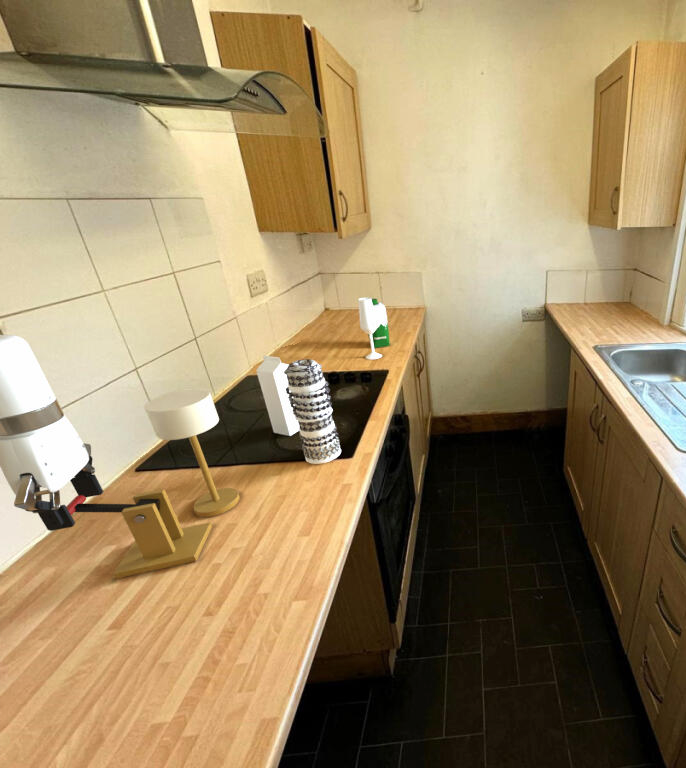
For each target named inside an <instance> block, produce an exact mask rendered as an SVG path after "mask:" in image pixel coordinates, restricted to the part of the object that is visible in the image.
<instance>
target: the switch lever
mask: <svg viewBox="0 0 686 768" xmlns="http://www.w3.org/2000/svg"><path fill="white" fill-rule="evenodd" d="M86 500H87V497H85V496H83V495H78V494H77V495H75V497H74V498H73V499H72V500H71V501H70V502H69V503H68V504H67V505H65V506H66V507H67V509H68V511H69V513H70V514H71V516H72V517H73V515H74V514H75V513H121V512H122V511H123V509H125V508H131V507H136V506H142V505H147V504H153V503H155V505H156V507H157V509H158V511H159V510H160V499H140V500H139V501H138V502H137V504H136V503H85V502H86Z"/></svg>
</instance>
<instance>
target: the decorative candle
mask: <svg viewBox="0 0 686 768" xmlns="http://www.w3.org/2000/svg"><path fill="white" fill-rule="evenodd" d="M322 368H323V365H322V364H321V363H318V362H317V361H316V360H314V359H311V358H306V359H305V358H304V359H303V358H302V359H297V360H295V361H292V362H290V363H289V365H288V367H287V369H285V371H284V374H286V375H287V380H288V387H287V388H286V393H287V394H289V396H288V399H289V401H290V404H291V405H290V406H291V407H292V408H293V410H292V411H293V414H294V415H295V419H296V420H297V421H298V423H299V435H298V436H299V439H300V443H301V445H302V448H301V449H302V451H303V456H304V458H305V461H306V462H307V463H309V464H311V465H321V464H326V463H329V462H331V461H333V460H336V459H337V458H338V457H339V456H340V455H341V453H342V449H341V445H340V439H339V437H338V435H339V433H338V430H337V429H338V428H337V426H336V425H335V421H334V419H333V415H332V413H333V411H334V410H333V408H332V405H333V403H332V401H331V399H332V397H331V395H330V394H329V393H330V391H331V390H330V388H329V386H330V383H329V382H328V381H326V379H325V377H324V373H323V370H322ZM289 390H290V391H289ZM292 397H293V398H292ZM293 404H294V405H295V406H294V405H293Z"/></svg>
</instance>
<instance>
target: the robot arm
mask: <svg viewBox="0 0 686 768" xmlns="http://www.w3.org/2000/svg"><path fill="white" fill-rule="evenodd" d="M93 459H94V458H93V457H92V445H91V444H90V443H86V442H85V443H84V442H83V440H82V439H81V437H80V435H79V433H78V432H77V431H76V429H75V428H74V426H73V424H72V422H70V420H69V419H68V417H66V415H65V412H64V411H63V408H62V407H61V405H60V403H59V401H58V399H57V398H56V396H55V393H54V392H53V390H52V387H51V385H50V383H49V382H48V380H47V378H46V376H45V374H44V372H43V370H42V367H41V366H40V364H39V361H38V360H37V358H36V356H35V354H34V352H33V350H32V348H31V346H30V345H29V343H28V341H27V340H25V339H24V338H23V337H21V336H18V335H14V334H0V469H1V471H2V473H3V475H4V477H5V480H6V482H7V484H8V485H9V488H10V489H11V490H12V492H13V494H14V495H15V499H14V502H13V506H14V507H15V508H18V509H22V510H23V511H26V512H30V513H32V514H38V516H39V518H40V520H41V521H42V523H43V525H44V526H45V528H46V530H47V531H49V532H53V531H58V530H63V529H68V528H73V527H74V526H75V524H76V521H75V520H74V518H73V515H72V516H71V514H70V513H69V511H68V509H67V507H66V506H67V505H66V504H61V494H60V490H61V489H62V488H63V487H64V486H65V485H66V484H68V483H69V482H70V483H71V485H72V486H73V488H74V490H75V492H76V494H77V496H78V495H83V496H85V497H86V498H91V497H96V496H101V495H103V493H104V490H103V488H102V485H101V484H100V482H99V480H98V478H97V476H96V474H95V473H96V468H95V467H94V466H93ZM41 488H44V489H45V488H46V489H45V490H41ZM45 495H49V496H48V497H49V501H46V500H43V496H45Z"/></svg>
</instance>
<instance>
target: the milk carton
mask: <svg viewBox="0 0 686 768" xmlns="http://www.w3.org/2000/svg"><path fill="white" fill-rule="evenodd" d="M371 300H372V304H373V308H374V312H375V316H376V320H377V324H378V327H377V329H376V330H375V332H374V333H373V334H372V338H373V344H374V349H377V348H385V347H390V331H389V323H388V315H387V309H386V306H385V304H384V303H383V302H378V299H377V298H371ZM367 336H368V340H369V341H370V338H369V334H367Z"/></svg>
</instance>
